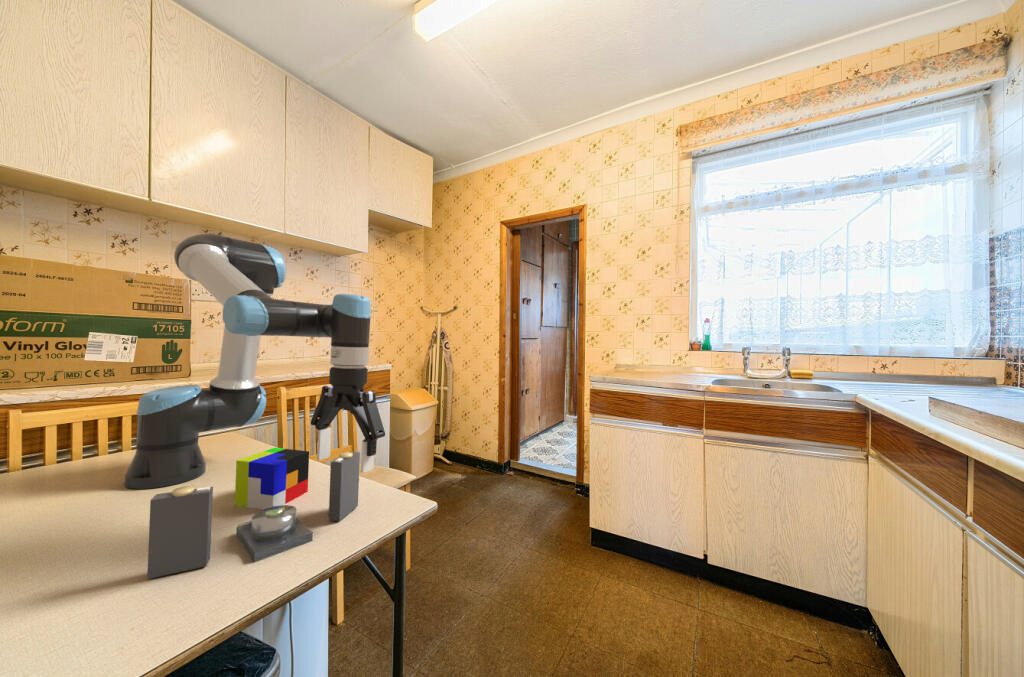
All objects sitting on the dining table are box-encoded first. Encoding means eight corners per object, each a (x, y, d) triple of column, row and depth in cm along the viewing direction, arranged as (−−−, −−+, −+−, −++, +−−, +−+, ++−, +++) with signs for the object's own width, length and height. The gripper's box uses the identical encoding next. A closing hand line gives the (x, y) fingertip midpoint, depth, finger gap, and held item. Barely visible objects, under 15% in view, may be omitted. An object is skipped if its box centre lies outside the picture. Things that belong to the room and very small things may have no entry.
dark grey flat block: (146, 579, 54) (150, 496, 54) (153, 569, 56) (157, 490, 57) (206, 566, 58) (209, 488, 58) (210, 557, 60) (213, 482, 60)
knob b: (347, 504, 80) (349, 448, 80) (358, 505, 80) (360, 449, 80) (328, 520, 73) (330, 458, 73) (339, 521, 73) (342, 459, 73)
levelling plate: (236, 535, 67) (237, 507, 67) (289, 518, 74) (290, 492, 74) (254, 562, 60) (255, 530, 60) (312, 540, 66) (313, 512, 66)
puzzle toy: (272, 511, 77) (274, 464, 77) (234, 505, 79) (236, 460, 79) (307, 492, 87) (309, 451, 87) (273, 487, 89) (274, 447, 89)
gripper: (295, 362, 79) (291, 458, 79) (378, 372, 68) (372, 482, 68) (326, 361, 86) (322, 449, 86) (405, 370, 75) (400, 470, 75)
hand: (344, 464), depth 77 cm, fingers open, 13 cm apart
